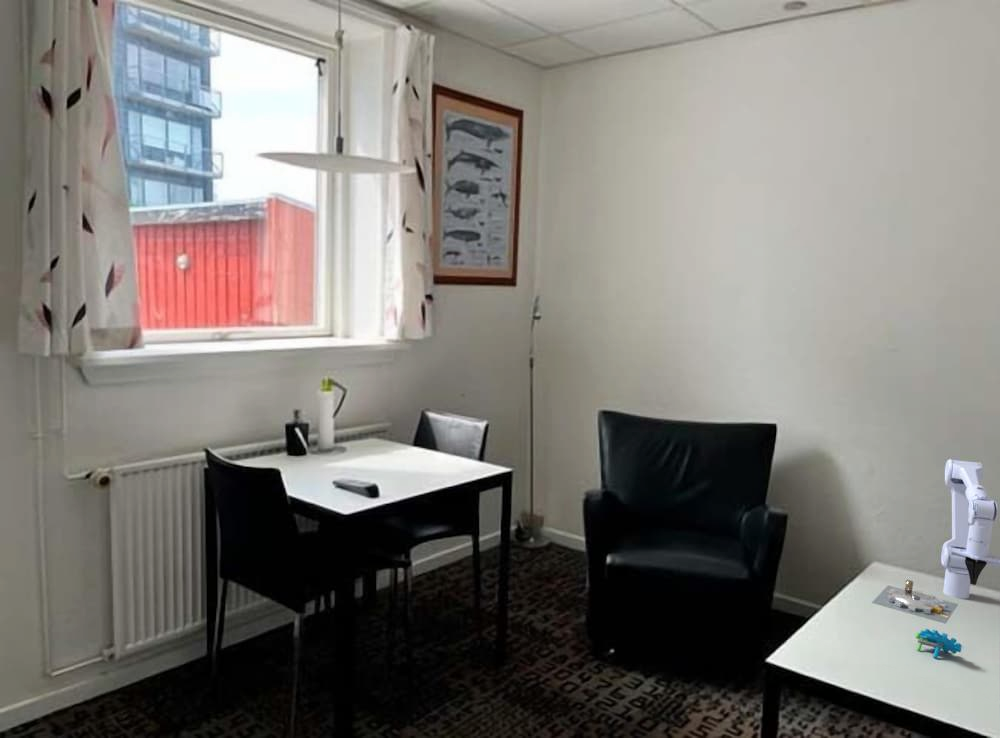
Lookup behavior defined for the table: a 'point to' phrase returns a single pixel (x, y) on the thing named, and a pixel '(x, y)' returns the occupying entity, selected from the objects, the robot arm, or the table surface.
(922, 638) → the blue toy dinosaur
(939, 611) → the sprocket
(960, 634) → the table surface
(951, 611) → the base plate
